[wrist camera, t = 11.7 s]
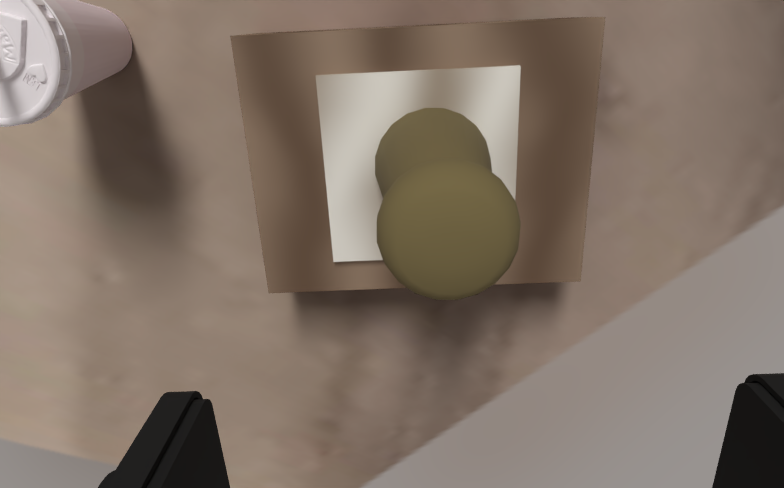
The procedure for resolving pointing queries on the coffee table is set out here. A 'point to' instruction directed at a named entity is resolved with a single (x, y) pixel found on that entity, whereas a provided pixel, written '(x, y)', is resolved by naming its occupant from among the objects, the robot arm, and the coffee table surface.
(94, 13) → the smoothie
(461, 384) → the coffee table surface
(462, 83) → the pedestal
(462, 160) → the cork
